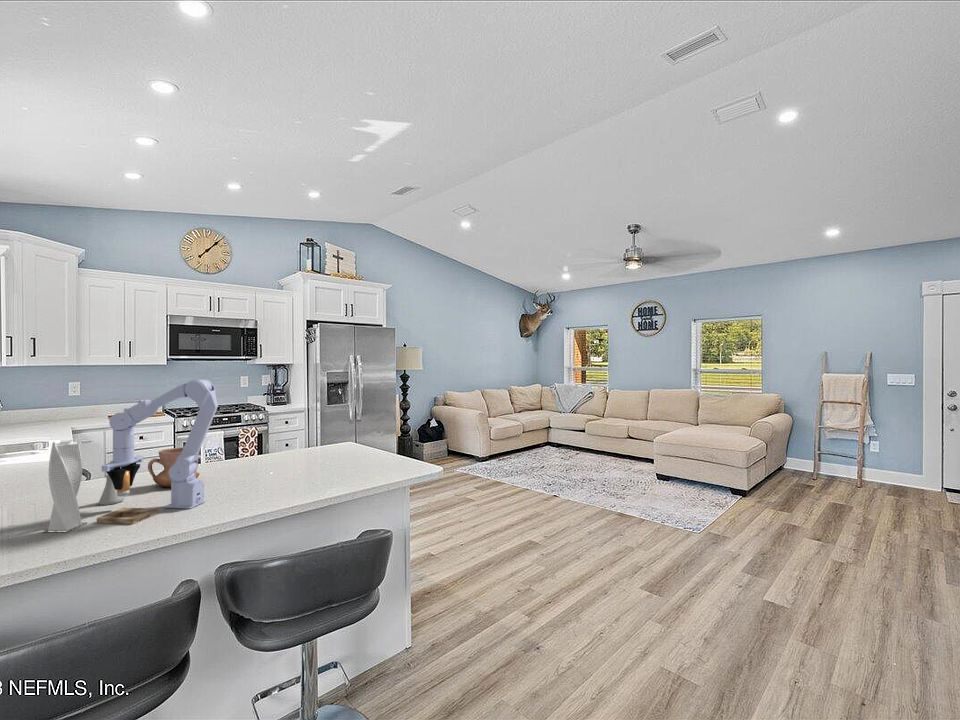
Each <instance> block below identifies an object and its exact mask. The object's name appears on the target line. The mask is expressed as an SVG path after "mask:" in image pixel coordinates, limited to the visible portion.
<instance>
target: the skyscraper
mask: <svg viewBox="0 0 960 720" xmlns="http://www.w3.org/2000/svg"><path fill="white" fill-rule="evenodd" d="M80 441H81V440H80V435H79V434H77V435H76V436H75V440H74V441H73V439H65V440H60V441H59V442H58V443H56V442H55V441H53V442H52V445H51V450H50V455H49V462H48V485H49V490H50V493H51V497H52V500H53V501H52V502H53V505H52V511H51V515H50V521H49V524H48V528H46V529H44V530H43V531H66V532H65V533H68V532H67V531H69V532H71V531H70V530H72V529H74V530H76V529H78V528H80V527H79V526H81V527H83V526H85V525H87V524H88V522H86V521H85V522H84V521H82V518H81V514H80V508H79V503H78V499H77V496H78V494H79V492H80V491H79V490H80V487H81V484H82V483H81V482H82V477H83V456H82V450H81V446H80ZM86 523H87V524H86ZM84 524H85V525H84ZM82 525H83V526H82ZM77 527H78V528H77ZM75 528H76V529H75ZM72 531H73V530H72Z"/></svg>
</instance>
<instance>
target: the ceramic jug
mask: <svg viewBox="0 0 960 720" xmlns="http://www.w3.org/2000/svg"><path fill="white" fill-rule="evenodd" d="M183 448H184V446H183V447H174V448H164V449H161V450H158V457H159V458H153V459H151V460H150V461H148V463H147V470H148V472H149V474H150V476H151V477H152V481H154V483H155V484H156V485H158V486H160V487H164V488H171V478H170V477H169V469H170V467H171V466H172V465H173V464H174V463H175V462H176V460H177V458H178V457H179V455H180V454H181V452H182V451H183ZM201 458H202V455H200V454H199V458H198V460H200V459H201ZM154 463H157V464H159V465H162V466H163V470H162V471H160V472H159V473H158V474H156V473H155V472H154V470H153V464H154ZM194 474H195V476H196V479H198V478H199V476H200V472H198V470H196V472H195V473H194Z"/></svg>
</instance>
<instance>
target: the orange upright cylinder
mask: <svg viewBox="0 0 960 720" xmlns="http://www.w3.org/2000/svg"><path fill="white" fill-rule="evenodd" d="M130 494H131V486H130V470H126V472H125V474H124V478H123V488H122V489H121V490H117V496H119V497H120V496H123V497H126V496H129V495H130Z"/></svg>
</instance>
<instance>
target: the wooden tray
mask: <svg viewBox="0 0 960 720" xmlns="http://www.w3.org/2000/svg"><path fill="white" fill-rule="evenodd" d="M158 514H159V509H158V508H148V507H147V508H146V507H145V508H144V507H122V508H119V509H117V510H114V511H111V512H109V513H106V514H103V515H101V516H98V517H96V522H98V523H97V524H113V523H122V524H121V525H134V523H135V524H137V523H139V522H141V520H142V521H143V519H144V520H146V519H148V517H149V518H151V517H154V516H155V515H158ZM119 516H121V517H119ZM150 516H151V517H150ZM145 518H146V519H145ZM138 521H139V522H138ZM136 522H137V523H136Z"/></svg>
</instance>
